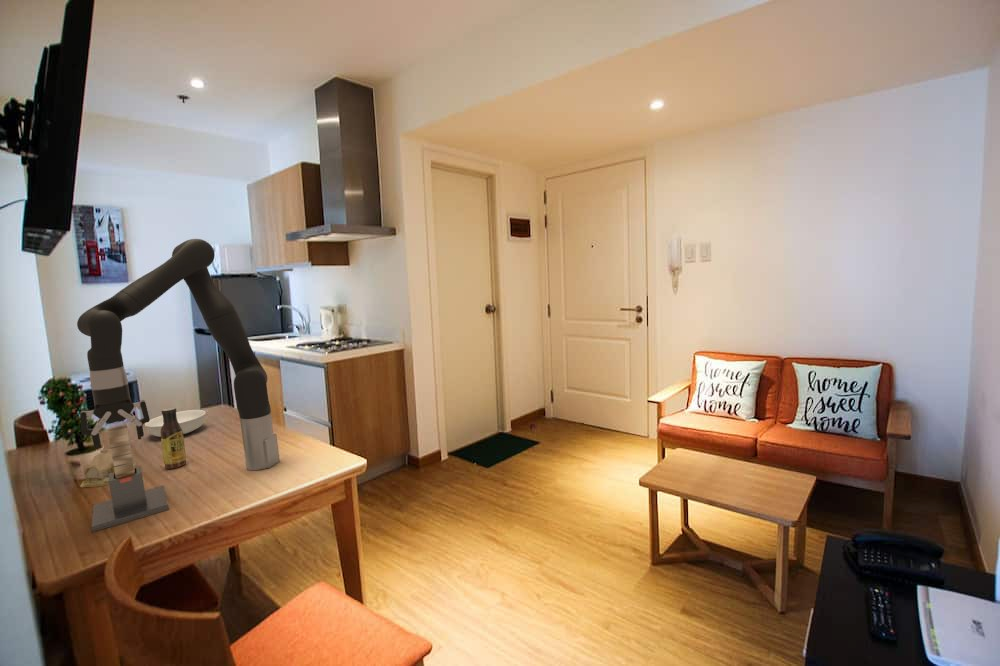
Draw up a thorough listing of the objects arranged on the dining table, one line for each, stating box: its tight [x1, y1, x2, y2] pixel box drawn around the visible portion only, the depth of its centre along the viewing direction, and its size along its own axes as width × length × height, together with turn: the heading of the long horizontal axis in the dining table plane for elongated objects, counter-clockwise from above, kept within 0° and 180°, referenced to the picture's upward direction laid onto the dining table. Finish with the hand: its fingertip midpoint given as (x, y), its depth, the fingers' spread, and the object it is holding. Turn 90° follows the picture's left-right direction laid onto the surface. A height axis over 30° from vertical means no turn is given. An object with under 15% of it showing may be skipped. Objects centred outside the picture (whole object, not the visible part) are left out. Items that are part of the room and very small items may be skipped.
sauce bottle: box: [160, 407, 187, 470], centre depth 159 cm, size 6×6×20 cm
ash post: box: [107, 424, 135, 478], centre depth 128 cm, size 4×4×16 cm
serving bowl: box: [144, 409, 207, 438], centre depth 195 cm, size 21×21×7 cm
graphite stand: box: [91, 465, 170, 533], centre depth 130 cm, size 16×16×10 cm
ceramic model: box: [79, 448, 138, 488], centre depth 152 cm, size 14×11×10 cm
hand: (119, 443), depth 128 cm, fingers open, 8 cm apart
